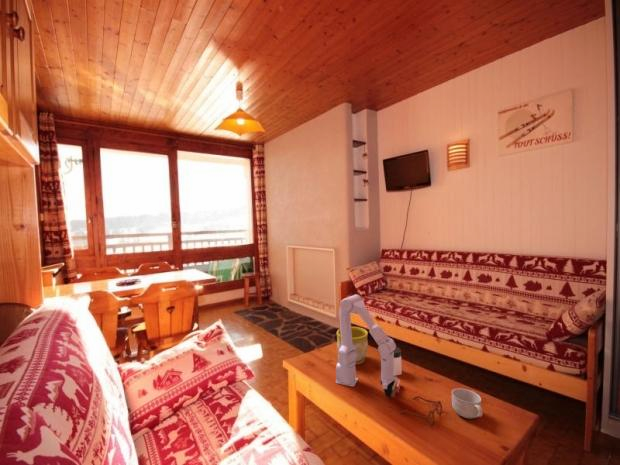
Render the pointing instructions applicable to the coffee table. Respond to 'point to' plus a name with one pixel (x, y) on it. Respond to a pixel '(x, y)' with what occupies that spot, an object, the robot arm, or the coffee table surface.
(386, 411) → the coffee table surface
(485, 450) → the coffee table surface
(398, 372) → the jar
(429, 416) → the glasses
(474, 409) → the teacup
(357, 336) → the flowerpot
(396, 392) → the end cap
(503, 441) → the coffee table surface
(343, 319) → the robot arm
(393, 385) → the beige rectangular block
